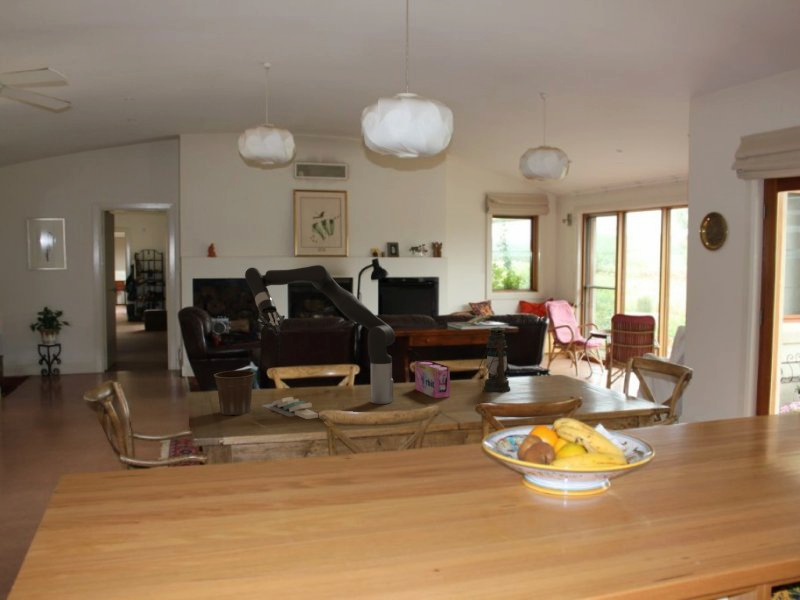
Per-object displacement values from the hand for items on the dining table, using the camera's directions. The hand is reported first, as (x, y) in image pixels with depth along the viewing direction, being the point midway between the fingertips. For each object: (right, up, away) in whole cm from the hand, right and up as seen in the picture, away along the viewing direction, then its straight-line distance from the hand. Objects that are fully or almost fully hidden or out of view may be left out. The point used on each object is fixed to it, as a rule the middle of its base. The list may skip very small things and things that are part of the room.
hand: (277, 333), depth 300 cm
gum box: (+68, -28, +16) cm, 76 cm away
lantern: (+98, -28, +22) cm, 104 cm away
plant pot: (-14, -31, -20) cm, 40 cm away
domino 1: (+2, -29, -9) cm, 30 cm away
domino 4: (+13, -30, -25) cm, 41 cm away
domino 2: (+4, -29, -13) cm, 32 cm away
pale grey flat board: (+7, -31, -16) cm, 35 cm away
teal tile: (+8, -30, -17) cm, 35 cm away
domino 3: (+11, -30, -21) cm, 38 cm away
